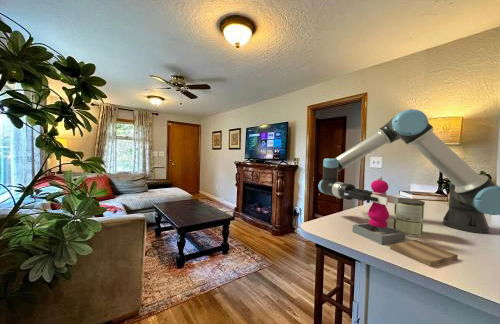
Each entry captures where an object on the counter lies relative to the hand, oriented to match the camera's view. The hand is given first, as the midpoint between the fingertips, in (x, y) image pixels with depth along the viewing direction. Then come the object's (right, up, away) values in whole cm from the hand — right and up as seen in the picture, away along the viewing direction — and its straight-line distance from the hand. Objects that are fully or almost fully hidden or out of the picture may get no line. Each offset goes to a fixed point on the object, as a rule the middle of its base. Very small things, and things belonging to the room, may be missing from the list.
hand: (392, 201), depth 78 cm
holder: (-2, -15, +5) cm, 16 cm away
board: (+4, -16, -10) cm, 19 cm away
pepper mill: (-2, -11, +5) cm, 12 cm away
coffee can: (+14, -16, +11) cm, 24 cm away
